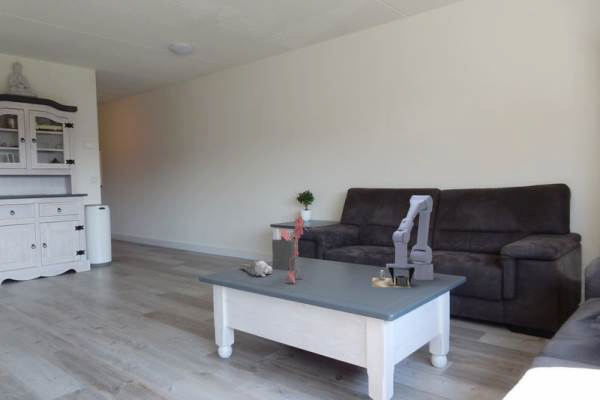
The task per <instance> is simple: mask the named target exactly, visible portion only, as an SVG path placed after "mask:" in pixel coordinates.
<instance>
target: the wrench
mask: <svg viewBox="0 0 600 400" xmlns="http://www.w3.org/2000/svg"><path fill="white" fill-rule="evenodd" d="M257 262H258V261H257V260H255V261H252V263H251V264H248V263H247V264H246V263H240V265H239V268H240V270H246V271H247V270H249V271H250V272H251V274H252V276H253V275H254V276H257V273H258V272H257V271H255V268H254V267H255V266H256V267H258V264H257Z"/></svg>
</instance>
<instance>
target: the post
mask: <svg viewBox="0 0 600 400" xmlns="http://www.w3.org/2000/svg"><path fill="white" fill-rule="evenodd" d="M379 278H380V280H381V281H384V280H385V278H386V271H385V270H384V269H380V271H379Z"/></svg>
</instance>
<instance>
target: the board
mask: <svg viewBox="0 0 600 400" xmlns="http://www.w3.org/2000/svg"><path fill="white" fill-rule="evenodd" d="M371 282H372V284H371V287H372V288H400V289H401V288H402V289H403V288H405V289H407V288H408V289H411V288H412V286H411V284H409V280H408V286H396V285H395V277H394V283H393V281H392V277H385V280H384V281H381V280H380V277H372V280H371Z"/></svg>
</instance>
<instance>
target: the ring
mask: <svg viewBox="0 0 600 400" xmlns="http://www.w3.org/2000/svg"><path fill="white" fill-rule="evenodd" d="M394 278H395V285H396V286H408V281H409V276H407V275H394Z"/></svg>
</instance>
